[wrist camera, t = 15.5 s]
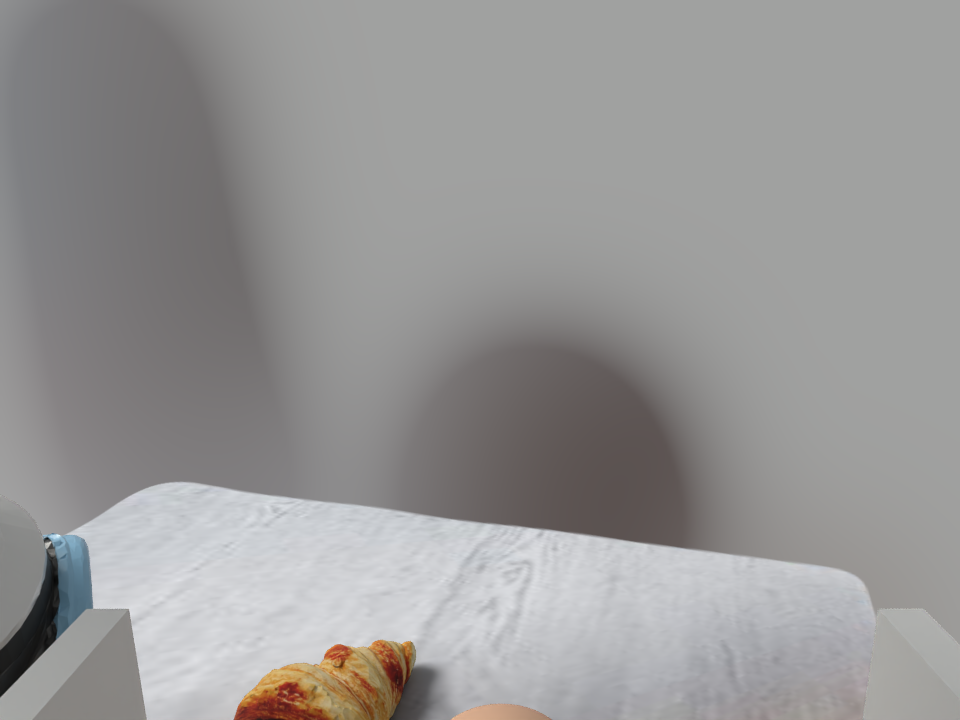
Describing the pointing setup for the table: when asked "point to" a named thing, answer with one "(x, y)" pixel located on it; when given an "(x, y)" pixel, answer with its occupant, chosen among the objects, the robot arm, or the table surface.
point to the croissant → (334, 686)
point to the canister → (501, 713)
